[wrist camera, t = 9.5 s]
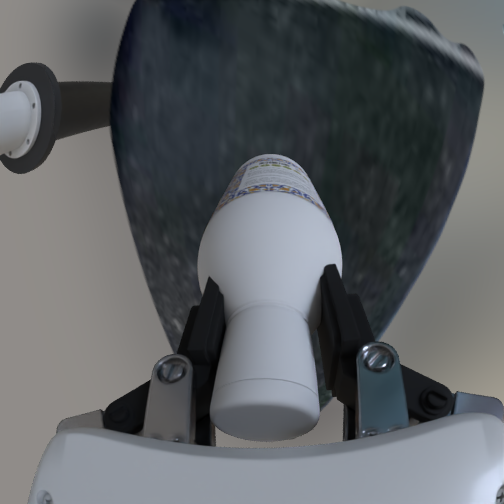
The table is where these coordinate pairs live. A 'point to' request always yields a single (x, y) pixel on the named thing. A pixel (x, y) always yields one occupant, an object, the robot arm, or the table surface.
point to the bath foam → (268, 298)
